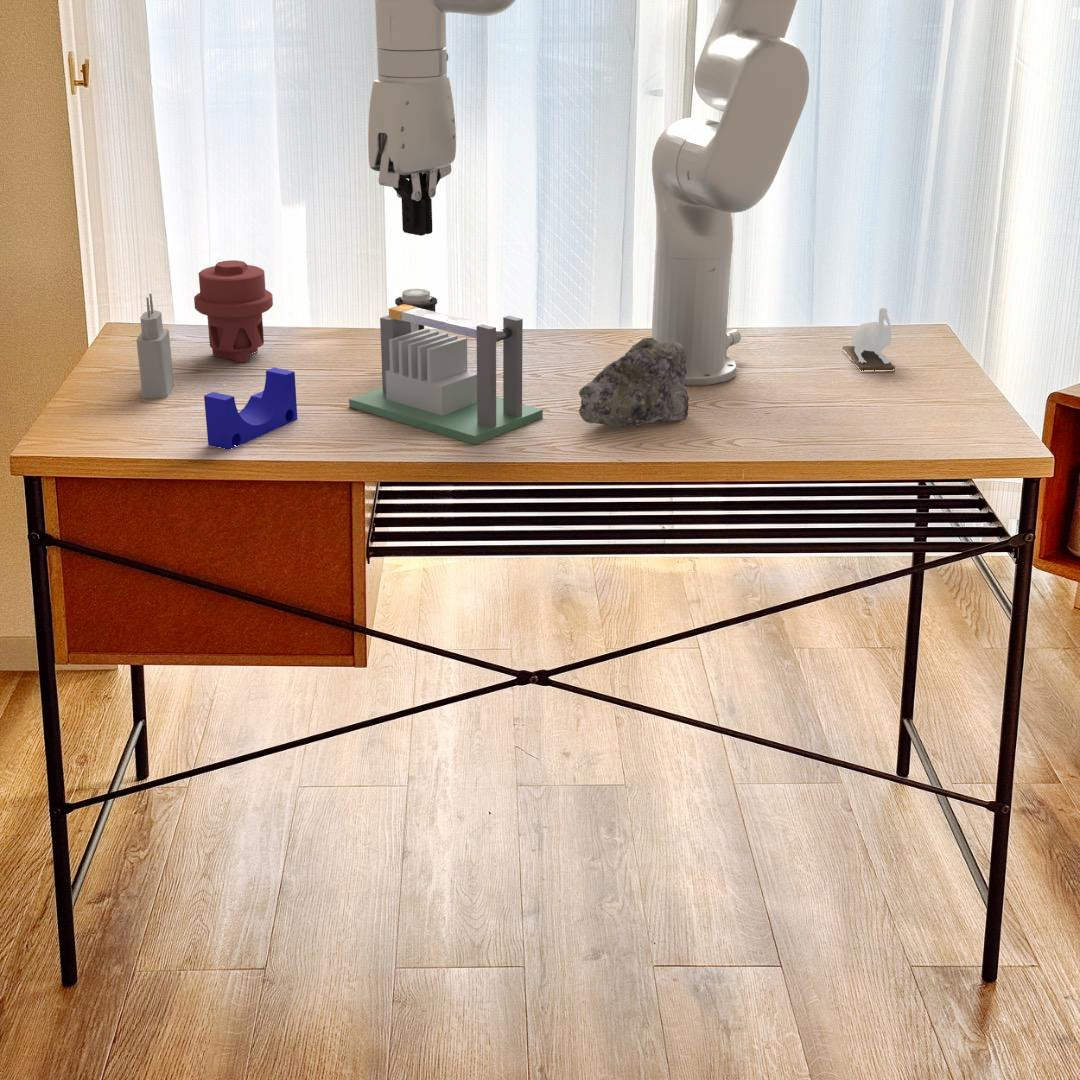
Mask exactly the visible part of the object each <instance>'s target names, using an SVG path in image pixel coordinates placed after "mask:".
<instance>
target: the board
mask: <svg viewBox="0 0 1080 1080" xmlns="http://www.w3.org/2000/svg"><path fill="white" fill-rule="evenodd" d="M523 322H524V321H523V318H520V317H516V316H511V315H507V316H504V317H502V325H503V326H502V328H510V330H511V331H512V336H511V337H510V338H507V339H504V340H502V348H503V352H502V353H503V355H502V357H503V358H502V359H503V363H502V364H503V366H502V369H503V370H502V371H503V377H502V378H503V380H502V383H503V384H502V389H503V392H502V394H503V395H502V396H503V398H502V397H498V396H497V342H496V327H493V326H489V325H484V324H481V325H478V326H476V328H477V338H476V372H473V371H470V370H468V338H467V337H461V338H458V335H456V334H453V335H450V336H449V332H448V333H447V332H443V333H440V331H439V330H437V329H436V330H433V331H430V328H428V327H426V328H425V327H424V329H422V330H419V331H415V332H412V333H410V322H407V321H403V320H402V321H400V320H396V319H392V318H389V314H388V315H385V316H382V317H380V318H379V324H380V327H379V328H380V329H379V330H380V351H381V352H380V354H381V355H380V356H381V380H382V381H381V382H382V383H381V384H382V385H381V386H382V387H380V388H377V389H374V390H371V391H369V392H365V393H362V394H360V395H356V396H353V397H350V398H349V399H348V405H349V408H351V409H356V410H358V411H362V412H366V413H369V414H372V415H375V416H379V417H381V418H385V419H388V420H392V421H395V422H398V423H402V424H405V425H408V426H411V427H415V428H417V429H418V428H419V429H422V430H425V431H428V432H432V433H435V434H439V435H442V436H445V437H449V438H452V439H455V440H458V441H462V442H465V443H468V444H471V445H478V444H480V443H483V442H485V441H488V440H491V439H493V438H495V437H498V436H500V435H503V434H505V433H508V432H510V431H513V430H516V429H518V428H520V427H521V428H522V426H525V425H528V424H530V423H532V422H535V421H538V420H540V419H543V416H544V414H543V413H544V410H543V409H542V408H538V407H534V406H530V405H528V404H524V403H523V332H524V331H523V330H524V329H523Z"/></svg>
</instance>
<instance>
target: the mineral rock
mask: <svg viewBox="0 0 1080 1080" xmlns="http://www.w3.org/2000/svg"><path fill="white" fill-rule="evenodd" d="M685 363H686V352H685V350H684V348H683V346H682V345H681V344H680V343H678V342H669V343H659V342H657V341H656V340H654V339H653V338H652V337H643V338H642V339H641V340H640V341H638V342H637V343H635V344H633V345H632V346H631V347H630V349H629V350H628V351H627V352H625V354H624V355H623V356H621V357H620V358H618V359H616V360H615V361H612V362H611V363H610V364H608V365H606V366H605V367H604V368H603V369H602V370H601V371H600V372H599V373H598V374H596V375H595V377H594V378H593V379H592V381H590V382H587V384H585V385H583V387H581V388H580V389H579V392H578V395H579V397H580V398H581V399H580V404H581V405H580V408H579V409H578V414H579V416H580V418H581V419H582V420H583V421H585V423H589V424H598V425H603V426H616V427H628V426H638V425H642V424H643V425H646V424H648V423H651V424H652V423H654V422H658V423H660V422H667V421H668V422H669V421H670V422H674V421H678V422H679V421H682V420H683V419H687V418H688V415H689V408H690V407H689V406H690V404H689V399H690V397H689V393H688V392H689V391H688V390H687V388H686V385H685V375H686V374H687V371H686V364H685Z"/></svg>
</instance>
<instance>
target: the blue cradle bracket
mask: <svg viewBox="0 0 1080 1080" xmlns="http://www.w3.org/2000/svg"><path fill="white" fill-rule="evenodd" d="M296 389H297V388H296V373H295V371H293V370H290V369H289V370H288V369H283V368H278V367H271V368H269V369H267V370H265V383H264V388H263V390H262V391H260V392H257V393H254V394H252V395H250V396H249V399H248V402H247V403H246V404H245V405H244V407H243V408H242V409H241V410H240V411H239V410H238V408H237V404H236V400H235V396H232V395H230V394H224V393H219V392H215V391H212V392H210V393H207V394H204V395H203V400H204V412H205V423H206V424H205V425H206V434H207V435H206V436H207V445H208V446H209V445H210V446H209V447H213V446H214V448H217V447H221V448H225V449H224V450H226V449H231V448H233V449H235V448H236V447H235V446H234V445H236V446H238V445H240V446H242V445H244V444H246V443H248V441H249V442H251V441H253V440H256V439H257V437H258V438H260V437H262V436H264V435H266V434H268V433H271V432H273V431H275V430H278V429H279V428H281V427H284V426H286V425H288V424H290V423H293V422H294V421H295V422H296V421H297V420H298V408H297V407H298V405H297V404H298V403H297V392H296V391H297V390H296ZM261 435H262V436H261ZM252 439H253V440H252ZM250 440H251V441H250ZM243 443H244V444H243ZM241 444H242V445H241ZM234 447H235V448H234ZM238 447H239V446H238ZM221 448H220V449H221ZM231 450H232V449H231Z"/></svg>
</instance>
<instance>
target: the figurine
mask: <svg viewBox="0 0 1080 1080" xmlns="http://www.w3.org/2000/svg"><path fill="white" fill-rule="evenodd" d="M884 322H886V323H887V325H886V324H885V323H884ZM891 326H892V325H891V321H890V317H889V316H888V309H887V308H886V307H881V308H879V311H878V321H870V322H865V323H861V324H859V325H857V326H856V327H855V328H854V330H853V332H852V334H851V345H843V346H842V350H843V349H844V350H845V351H846V352H847V354H848V355H849V356H850V357H851V359H852V360H853V361H854V363H855V364H856V365H857V366H858V367H859V369H860V370H861V371H862V370H863V371H864V370H874V371H875V370H893V369H894V371H895V369H896V367H895V366H894V365H893V363H892V361H891V360H890V359H889V358H888V357H886V356H885V355H884V354H883V353H882V351H883V350H884V349H885V348H888V347H889V346H891V343H892V327H891ZM859 369H858V370H859Z"/></svg>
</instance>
